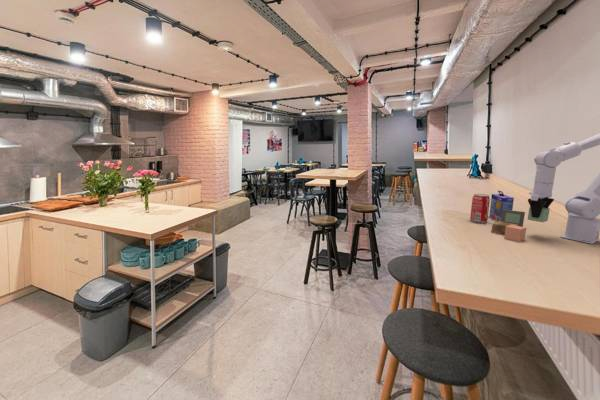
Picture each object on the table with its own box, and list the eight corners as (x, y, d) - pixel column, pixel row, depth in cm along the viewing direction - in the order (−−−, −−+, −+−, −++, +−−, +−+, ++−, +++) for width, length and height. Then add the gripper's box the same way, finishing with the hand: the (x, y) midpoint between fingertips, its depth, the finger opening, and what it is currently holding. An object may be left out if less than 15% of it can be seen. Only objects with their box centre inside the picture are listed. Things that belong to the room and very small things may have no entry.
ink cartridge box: (487, 217, 148) (491, 189, 145) (499, 217, 147) (503, 189, 145) (498, 222, 138) (503, 192, 135) (511, 222, 138) (515, 192, 135)
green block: (547, 220, 115) (549, 208, 114) (542, 222, 113) (544, 209, 112) (532, 218, 119) (534, 206, 118) (527, 219, 117) (529, 207, 116)
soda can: (487, 224, 135) (491, 196, 132) (469, 222, 138) (472, 195, 136) (487, 220, 141) (490, 194, 138) (469, 218, 144) (473, 193, 142)
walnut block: (516, 233, 121) (518, 224, 121) (510, 237, 117) (512, 227, 116) (497, 230, 127) (498, 221, 126) (491, 232, 122) (492, 223, 122)
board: (500, 224, 134) (503, 208, 133) (522, 227, 129) (525, 211, 128) (499, 226, 131) (502, 210, 129) (522, 230, 126) (524, 213, 124)
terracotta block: (524, 240, 113) (526, 227, 112) (518, 242, 110) (520, 229, 109) (509, 236, 117) (511, 224, 116) (504, 238, 114) (505, 226, 113)
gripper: (538, 180, 120) (533, 212, 123) (523, 182, 112) (518, 216, 115) (560, 182, 114) (554, 215, 117) (546, 184, 107) (540, 220, 109)
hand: (538, 216), depth 116 cm, fingers closed on green block, 5 cm apart
